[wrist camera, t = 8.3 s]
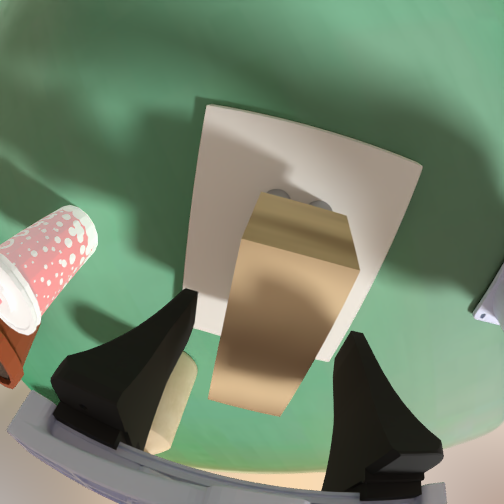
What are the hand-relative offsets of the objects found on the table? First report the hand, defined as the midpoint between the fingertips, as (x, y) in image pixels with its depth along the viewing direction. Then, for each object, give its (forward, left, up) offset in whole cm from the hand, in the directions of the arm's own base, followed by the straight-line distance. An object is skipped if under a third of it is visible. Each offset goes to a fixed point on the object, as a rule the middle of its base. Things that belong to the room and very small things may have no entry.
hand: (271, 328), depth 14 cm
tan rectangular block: (0, 0, -3) cm, 3 cm away
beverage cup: (+16, +3, -7) cm, 18 cm away
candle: (+7, +15, -7) cm, 18 cm away
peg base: (0, 0, -7) cm, 7 cm away
